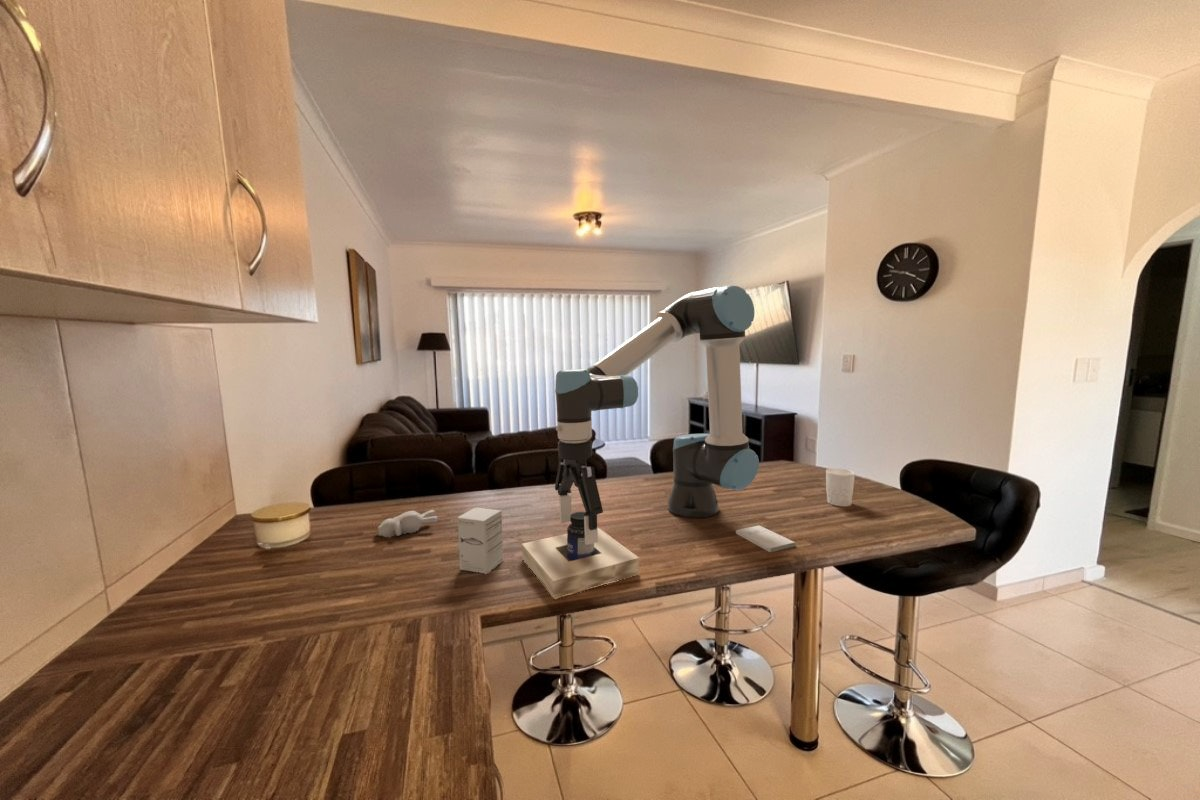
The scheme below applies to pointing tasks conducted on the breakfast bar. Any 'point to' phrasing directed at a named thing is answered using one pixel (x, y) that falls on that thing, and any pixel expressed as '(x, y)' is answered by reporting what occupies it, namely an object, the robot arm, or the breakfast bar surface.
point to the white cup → (839, 486)
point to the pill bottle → (577, 539)
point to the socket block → (578, 564)
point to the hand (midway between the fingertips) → (578, 531)
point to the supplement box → (480, 540)
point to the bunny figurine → (405, 523)
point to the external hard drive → (765, 538)
